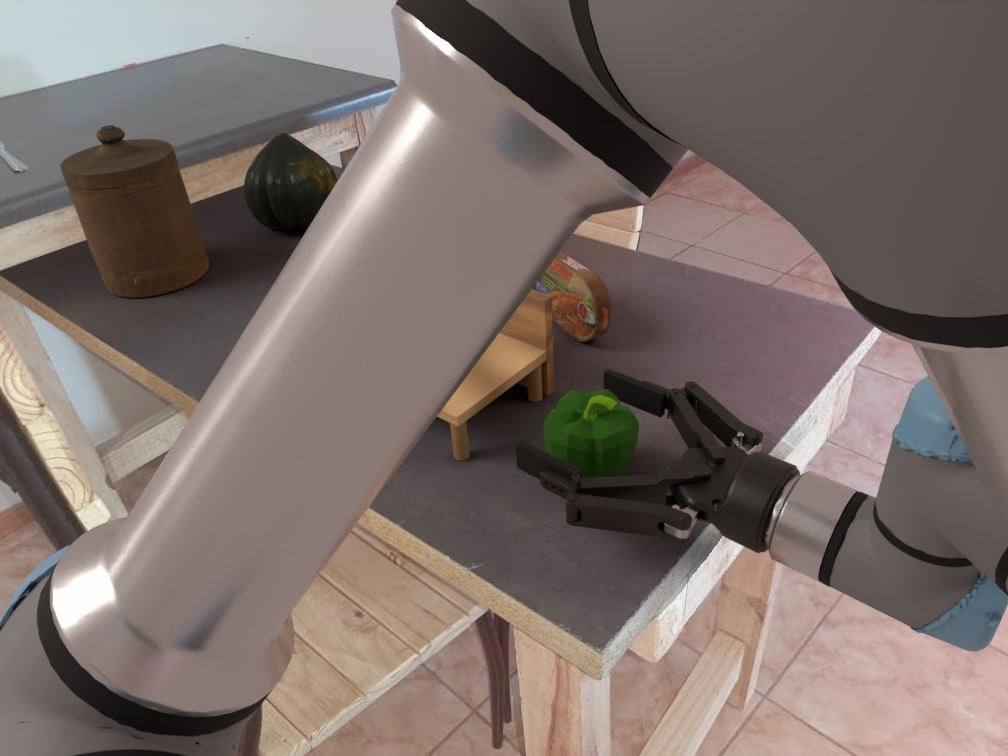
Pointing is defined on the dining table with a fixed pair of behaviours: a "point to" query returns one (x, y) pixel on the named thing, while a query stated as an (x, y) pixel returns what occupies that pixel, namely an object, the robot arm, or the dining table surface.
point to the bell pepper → (592, 433)
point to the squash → (287, 184)
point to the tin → (576, 298)
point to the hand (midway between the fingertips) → (564, 415)
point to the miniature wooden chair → (506, 367)
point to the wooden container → (136, 214)
